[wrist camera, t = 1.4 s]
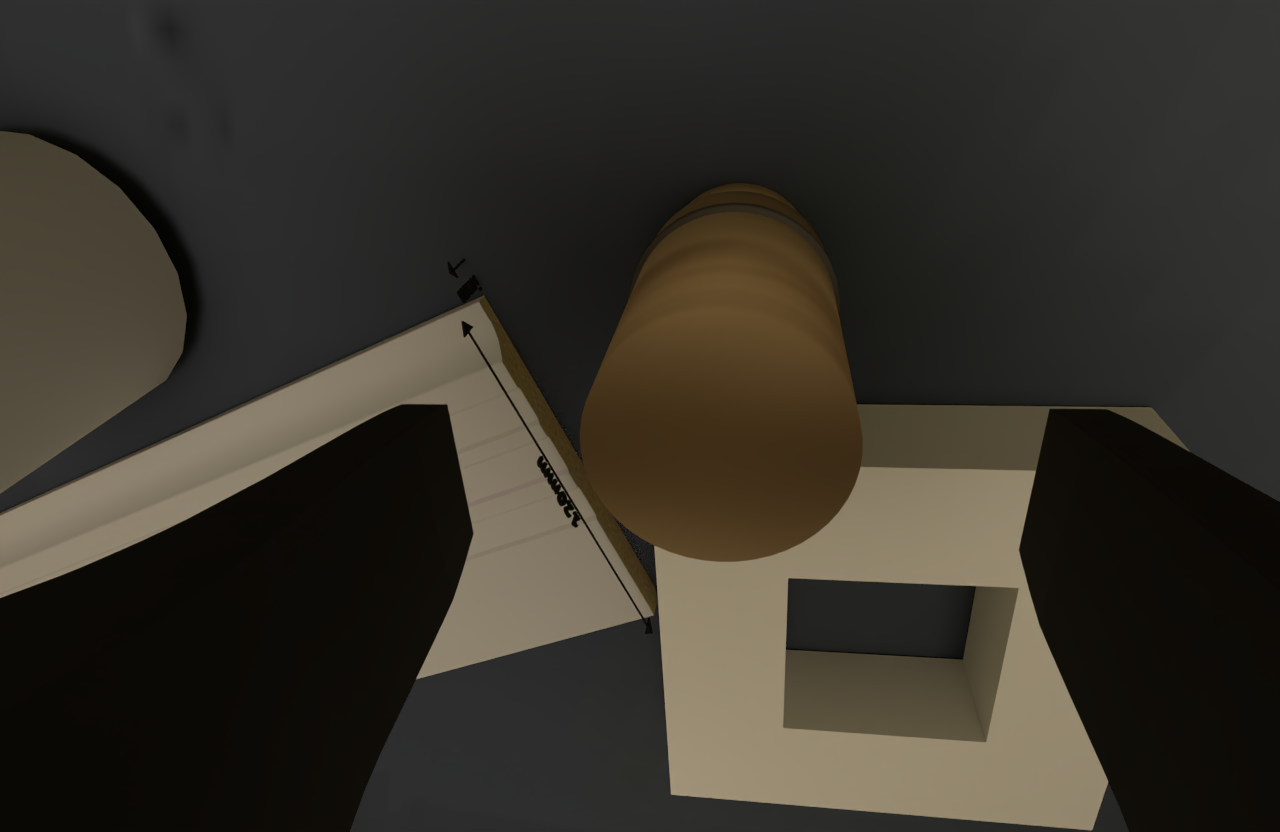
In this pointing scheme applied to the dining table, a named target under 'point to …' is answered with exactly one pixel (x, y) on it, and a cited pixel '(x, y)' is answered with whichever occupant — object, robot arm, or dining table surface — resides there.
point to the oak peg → (726, 386)
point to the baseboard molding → (335, 403)
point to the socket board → (882, 684)
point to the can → (75, 303)
